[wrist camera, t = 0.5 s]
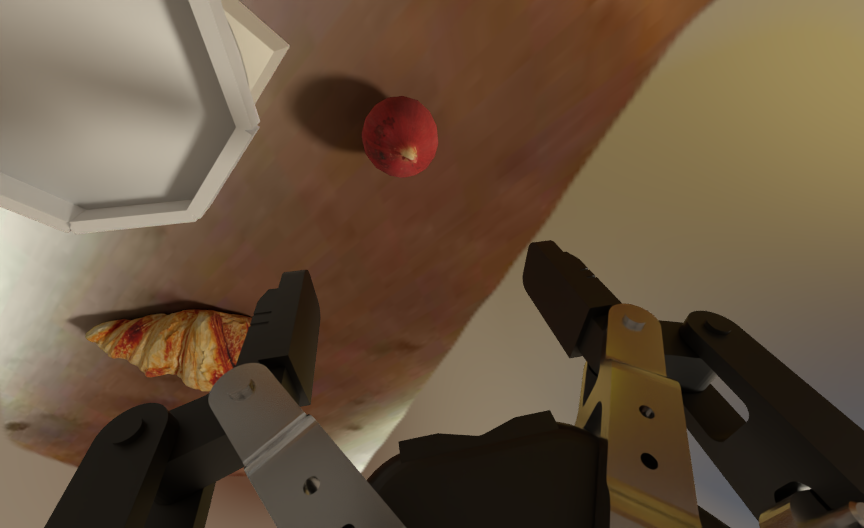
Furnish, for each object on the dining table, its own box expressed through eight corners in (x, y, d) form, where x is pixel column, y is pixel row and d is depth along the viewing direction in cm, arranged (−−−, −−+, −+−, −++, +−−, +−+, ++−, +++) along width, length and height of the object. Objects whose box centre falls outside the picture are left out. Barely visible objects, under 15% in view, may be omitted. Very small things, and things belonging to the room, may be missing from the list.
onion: (369, 164, 29) (373, 202, 23) (353, 94, 26) (354, 117, 19) (431, 153, 30) (452, 188, 23) (424, 84, 26) (446, 103, 20)
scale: (-15, -265, 14) (-398, -562, 7) (318, 44, 23) (302, 54, 16) (-73, 58, 20) (-322, 79, 13) (214, 208, 29) (166, 272, 22)
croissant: (122, 316, 38) (88, 389, 34) (77, 286, 29) (26, 377, 26) (310, 335, 45) (299, 397, 41) (317, 315, 37) (303, 390, 33)
